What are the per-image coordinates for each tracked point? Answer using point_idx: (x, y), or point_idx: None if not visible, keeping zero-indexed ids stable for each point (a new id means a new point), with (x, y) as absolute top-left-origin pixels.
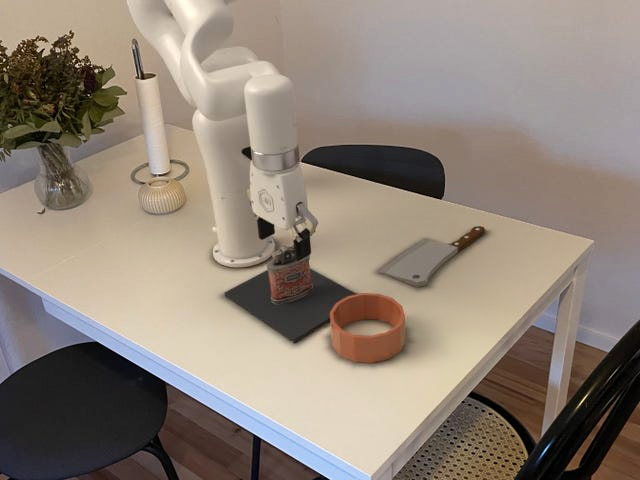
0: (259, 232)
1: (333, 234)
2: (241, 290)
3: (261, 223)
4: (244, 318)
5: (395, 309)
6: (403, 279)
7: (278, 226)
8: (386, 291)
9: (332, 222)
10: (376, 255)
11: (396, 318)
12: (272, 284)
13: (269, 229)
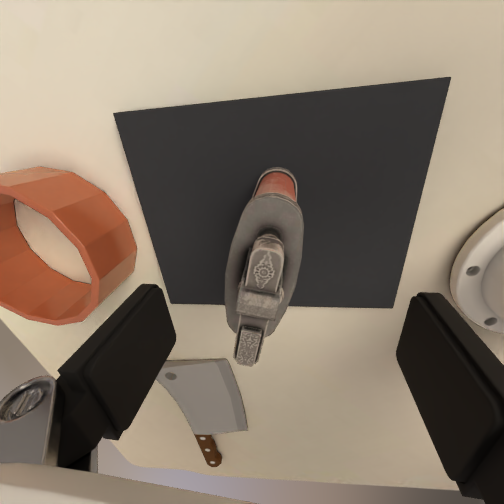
0: (451, 323)
1: (380, 392)
2: (402, 133)
3: (476, 399)
4: (294, 62)
5: (50, 308)
6: (181, 363)
7: (23, 497)
8: (176, 333)
9: (411, 412)
10: (269, 383)
11: (63, 295)
12: (268, 183)
13: (418, 367)
